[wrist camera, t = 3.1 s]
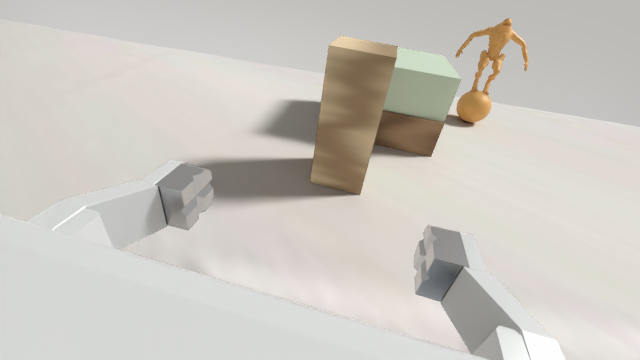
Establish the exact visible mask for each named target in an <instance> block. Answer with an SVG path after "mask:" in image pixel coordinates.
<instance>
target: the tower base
mask: <svg viewBox="0 0 640 360" xmlns="http://www.w3.org/2000/svg"><path fill="white" fill-rule="evenodd" d="M443 126H444V122H441V121H436V120H431V119H426V118H421V117H416V116H411V115H406V114H401V113H396V112H391V111H386V110H383V111H382V115H381V118H380V122H379V126H378V130H377V133H376V137H375V141H374V144H375V145H380V146H384V147H389V148H393V149H398V150H402V151H407V152H412V153H416V154H421V155H425V156H430V157H431V155H432V153H433V150H434V148H435V145H436V143H437V140H438V138H439V135H440V133H441V130H442V128H443Z"/></svg>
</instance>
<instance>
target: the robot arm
mask: <svg viewBox="0 0 640 360" xmlns="http://www.w3.org/2000/svg"><path fill="white" fill-rule="evenodd" d="M211 180H212V174H211V171H210V170H209V169H206V168H202V167H199V166H195V165H192V164H188V163H183V162H180V161H176V160H169V161H168V162H166V163H165V164H163V165H162V166H161V167H159V168H158V169H157V170H155V171H154V172H153V173H151V174H150V175H148V176H147V177H146V178H144V179H143V180H142V181H138V180H136V181H132V182H128V183H124V184H120V185H117V186H113V187H109V188H105V189H101V190H97V191H93V192H90V193H86V194H82V195H78V196H74V197H70V198H66V199H63V200H60V201H58V202H57V203H55V204H53V205H52V206H50V207H49V208H47V209H45V210H44V211H42V212H40V213H39V214H37V215H36V216H34V217H32V218H31V219H29V220H28V221H26V222H25V221H22V220H19V219H15V218H12V217H9V216H5V215H2V214H0V360H565V358H564V356H563V354H562V351H561V349H560V347H559V344H558V342H557V340H556V339H555V338H554V337H553V336H552V335H551V334H550V333H549V332H548V331H547V330H546V329H545V328H544V327H543V326H542V325H541V324H540V323H539V322H538V321H537V320H536V319H535V318H534V317H533V316H532V315H531V314H530V313H529V312H528V311H527V310H526V309H525V308H524V307H523V306H522V305H521V304H520V303H519V302H518V301H517V300H516V299H515V298H514V297H513V296H512V295H511V294H510V293H509V292H508V291H507V290H506V289H505V288H504V286H503V285H502V284H501V283H500V282H499V281H498V280H497V279H496V278H495V277H494V276H493V275H492V274H490V273H486V270H485V266H484V263H483V260H482V257H481V253H480V250H479V247H478V244H477V240H476V237H475V236H474V235H472V234H467V233H463V232H457V231H453V230H448V229H444V228H440V227H436V226H432V225H427V227H426V228H425V230H424V232H423V235H424V239H423V240H421V241H419V243H418V245H417V248H416V251H415V255H414V268H415V269H416V271H417V274H416V276H415V294H417V295H420V296H423V297H427V298H430V299H433V300H436V301H440V302H441V305H442V306H443V308H444V310H445V311H446V313H447V315H448V316H449V318H450V320H451V321H452V323H453V324H454V326H455V328H456V329H457V331H458V333H459V334H460V336H461V338H462V339H463V341H464V343H465V344H466V346H467V348H468V349H469V351H470V353H471V354H469V353H465V352H462V351H459V350H455V349H452V348H449V347H445V346H442V345H439V344H435V343H432V342H429V341H425V340H422V339H418V338H415V337H412V336H408V335H405V334H402V333H398V332H395V331H392V330H388V329H385V328H382V327H378V326H375V325H372V324H368V323H365V322H361V321H358V320H355V319H351V318H348V317H345V316H341V315H338V314H335V313H331V312H328V311H324V310H321V309H318V308H314V307H311V306H308V305H304V304H301V303H298V302H294V301H291V300H288V299H284V298H281V297H277V296H274V295H271V294H267V293H264V292H261V291H257V290H254V289H251V288H247V287H244V286H241V285H237V284H234V283H230V282H227V281H224V280H220V279H217V278H214V277H210V276H207V275H204V274H200V273H197V272H193V271H190V270H187V269H183V268H180V267H177V266H173V265H170V264H167V263H163V262H160V261H157V260H153V259H150V258H146V257H143V256H140V255H136V254H133V253H130V252H126V251H123V250H120V249H122V248H124V247H126V246H128V245H130V244H132V243H134V242H136V241H138V240H140V239H142V238H145V237H147V236H149V235H151V234H153V233H155V232H157V231H159V230H161V229H163V228H165V227H167V225H169V226H173V227H177V228H181V229H185V230H189V229H190V228H191V227H192V226H193V225H194V224H195V223H196V222H197V220H198V219H199V214H200V213H202V212H205V211H206V210H207V209H208V208H209V207H210V205H211V202H212V200H213V195H214V192H213V187H212V186H211V185H210V183H209V182H210V181H211Z"/></svg>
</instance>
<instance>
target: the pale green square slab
mask: <svg viewBox="0 0 640 360" xmlns="http://www.w3.org/2000/svg"><path fill="white" fill-rule="evenodd" d="M460 82H461V78H460V77H459V75H458V74H457V73H456V71H455V70H454V69H453V67H452V66H451V65H450V63H449V62H448V61H447V59H446V58H445V57H444V56H442V55H437V54H431V53H425V52H420V51H414V50H409V49H403V48H397V59H396V63H395V66H394V70H393V74H392V77H391V81H390V85H389V89H388V92H387V96H386V100H385V104H384V107H383V110H386V111H391V112H396V113H401V114H406V115H411V116H416V117H421V118H426V119H431V120H436V121H441V122H444V121H445V119H446V116H447V114H448V111H449V109H450V106H451V104H452V101H453V99H454V96H455V94H456V91H457V89H458V86H459V84H460Z"/></svg>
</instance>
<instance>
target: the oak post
mask: <svg viewBox="0 0 640 360" xmlns="http://www.w3.org/2000/svg"><path fill="white" fill-rule="evenodd" d="M397 48H398V46H393V45H387V44H382V43H377V42H371V41H366V40H360V39H355V38H350V37H344V36H340V37H338V38H337V39H336V40H335V41H334V42H332V43H331V44H330V45H329V49H328V56H327V63H326V70H325V77H324V84H323V92H322V99H321V106H320V113H319V121H318V128H317V135H316V142H315V150H314V157H313V164H312V171H311V179H310V182H311V183H315V184H319V185H323V186H327V187H331V188H335V189H339V190H343V191H347V192H352V193H356V194H360V193H361V189H362V186H363V182H364V178H365V174H366V171H367V167H368V163H369V159H370V156H371V152H372V148H373V145H374V141H375V137H376V133H377V130H378V126H379V122H380V118H381V115H382V111H383V107H384V104H385V100H386V96H387V92H388V89H389V85H390V81H391V77H392V74H393V70H394V66H395V63H396V59H397Z"/></svg>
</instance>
